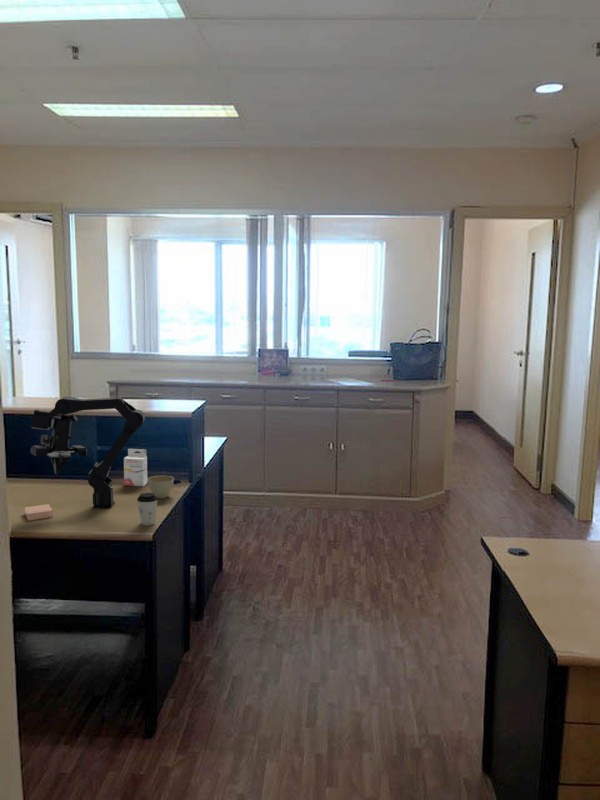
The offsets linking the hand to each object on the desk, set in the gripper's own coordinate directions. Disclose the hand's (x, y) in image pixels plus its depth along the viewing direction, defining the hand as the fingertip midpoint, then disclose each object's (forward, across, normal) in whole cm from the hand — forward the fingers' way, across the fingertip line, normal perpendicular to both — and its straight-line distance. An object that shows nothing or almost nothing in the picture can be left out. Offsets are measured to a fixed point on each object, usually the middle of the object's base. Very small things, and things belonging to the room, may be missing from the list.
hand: (56, 473), depth 221 cm
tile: (+12, +3, +5) cm, 13 cm away
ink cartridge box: (+8, -38, -8) cm, 39 cm away
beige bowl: (+7, -37, +13) cm, 40 cm away
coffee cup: (+8, -18, +37) cm, 41 cm away
